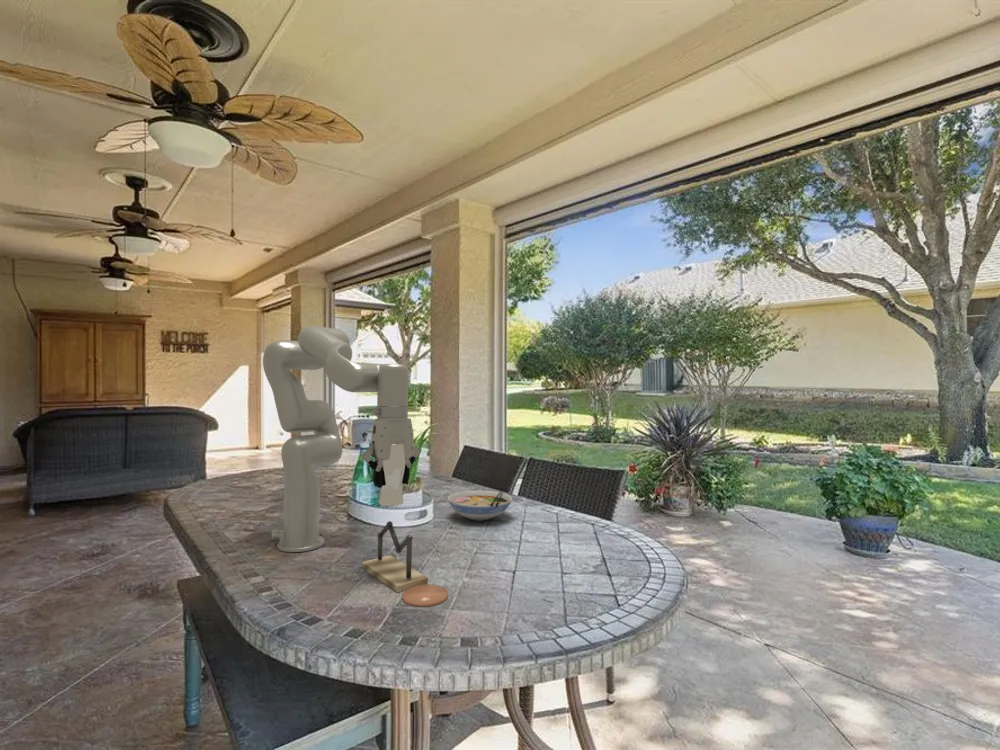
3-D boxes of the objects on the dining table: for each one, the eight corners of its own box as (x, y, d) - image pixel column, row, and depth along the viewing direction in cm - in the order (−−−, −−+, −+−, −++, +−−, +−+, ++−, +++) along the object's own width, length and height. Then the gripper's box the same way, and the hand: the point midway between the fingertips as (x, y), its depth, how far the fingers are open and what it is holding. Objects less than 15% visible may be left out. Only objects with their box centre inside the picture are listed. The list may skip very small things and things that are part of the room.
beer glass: (398, 507, 120) (399, 445, 120) (371, 505, 122) (372, 444, 122) (409, 500, 127) (410, 441, 127) (384, 499, 128) (384, 440, 129)
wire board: (361, 567, 127) (361, 561, 127) (390, 561, 132) (390, 555, 132) (397, 592, 113) (397, 586, 113) (427, 584, 118) (427, 577, 118)
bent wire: (375, 559, 128) (376, 516, 129) (381, 557, 129) (382, 515, 130) (407, 579, 116) (408, 532, 116) (413, 577, 117) (413, 531, 117)
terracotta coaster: (396, 605, 107) (396, 602, 107) (409, 586, 116) (409, 583, 116) (442, 607, 106) (442, 605, 106) (451, 588, 116) (451, 585, 116)
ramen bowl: (455, 507, 189) (456, 486, 189) (515, 511, 186) (516, 489, 186) (438, 526, 164) (439, 502, 164) (507, 530, 161) (508, 505, 161)
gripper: (366, 415, 116) (365, 492, 116) (430, 413, 127) (429, 483, 127) (353, 413, 122) (351, 486, 122) (415, 411, 133) (414, 478, 133)
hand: (391, 484), depth 124 cm, fingers closed on beer glass, 6 cm apart
